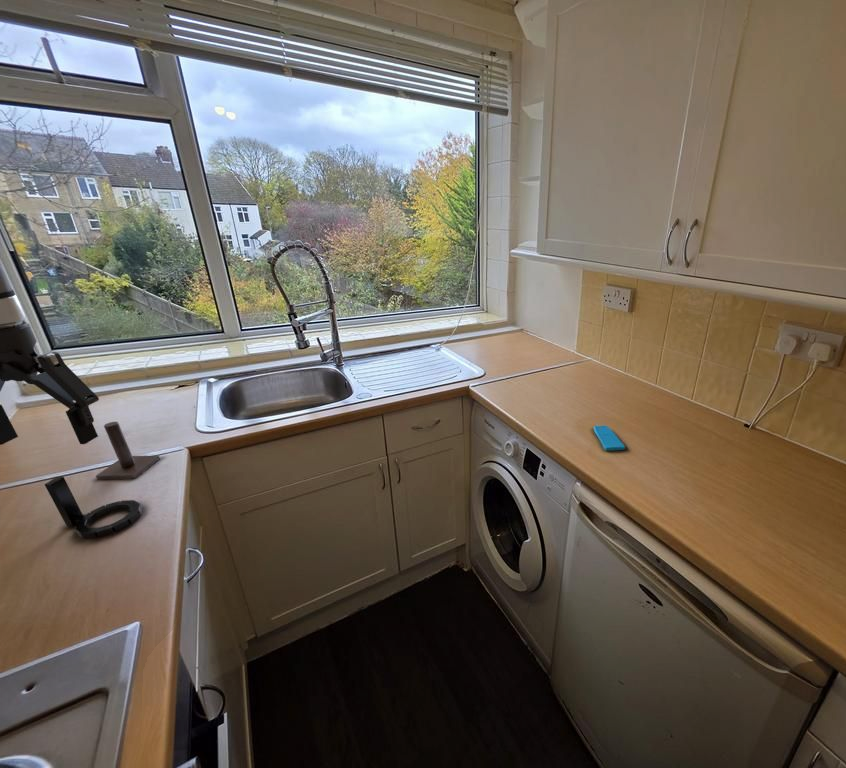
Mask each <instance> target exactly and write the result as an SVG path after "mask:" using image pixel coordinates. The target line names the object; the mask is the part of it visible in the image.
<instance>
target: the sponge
mask: <svg viewBox="0 0 846 768" xmlns="http://www.w3.org/2000/svg"><path fill="white" fill-rule="evenodd" d="M593 431H594V433H595V435H596V436H597V438H598V439H599V441H600V444H601V446H602V447H603V449H604V450H605V451H611V452H612V451H623V450H626V445H625V444H624V443H623V442H622V441H621V440H620V438H619V437H618V436H617V435H616V434H615V432H614V431H613V430H612V429H611V428H610V427H608V426H607V425H595V426H594V427H593Z"/></svg>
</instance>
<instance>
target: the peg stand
mask: <svg viewBox="0 0 846 768" xmlns="http://www.w3.org/2000/svg"><path fill="white" fill-rule="evenodd" d="M103 427H104V430H105V432H106V434H107V437H108V440H109V442H110V444H111V447H112V448H113V451H114V454H115V456H116V458H117V461H115V462H114V463H112V464H111V465H109V466H108V467H106V468H105V469H103V470H101V471H100V472H99V473H97V474H96V475H95V478H96V480H127V479H128V480H129V479H133V480H134V479H136V478H137V477H139V476H140V475H141V474H143V472H145V471H146V470H148V469H149V468H150V467H152V466H153V465H154V464H155V463H156V462H158V461H159V460H160V459H161V457H160V455H132V453H131V449H130V447H129V444H128V442H127V439H126V437H125V435H124V432H123V431H122V428H121V425H120V423H119V421H110V422H108V423H105V424H104V425H103Z"/></svg>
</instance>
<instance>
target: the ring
mask: <svg viewBox="0 0 846 768" xmlns="http://www.w3.org/2000/svg"><path fill="white" fill-rule="evenodd" d="M44 487H45V488H46V490H47V492H48V494H49V496H50V498H51V500H52V501H53V504H54V506H55V507H56V509H57V511H58V513H59V515H60V517H61V518H62V520H63V523H64V524H65V527H67V528H70V527H71V528H72V527H74V530H75V533H76V534H77V535H78V536H79V537H80V538H82V539H85V540H88V539H89V540H91V539H100V538H104V537H107V536H110V535H114V534H115V533H119V532H121V531H123V530H125V529H126V528H128V527H130V526H131V525H133V524H134V523H135V522H136V521H138V519H139V518H141V516H142V513H143V507H142V505H141V503H140V502H138V501H136V500H133V499H128V500H127V499H126V500H125V499H124V500H117V501H114V502H110V503H107V504H105V505H104V504H103V505H101V506H99V507H97V508H95V509H93V510H91V511H90V512H87V513H86V514H83V513H82V510H81V508H80V507H79V504H78V503H77V501H76V497H74V495H73V492H72V490H71V488H70V487H69V484H68V483H67V481H66V478H65V477H64V476H55V477H54V478H52V479H50V480H49V481H48V482H46V483H45V484H44ZM119 511H129V512H128V513H127V514H126V515H125V516H124V517H122V518H120V519H119V520H116V521H115V522H113V523H110V524H107V525H103V526H100V527H90V526H91V525H92V524H93V523H94V522H95V521H97V520H98V519H100V518H102V517H104V516H106V515H109V514H111V513H114V512H119Z"/></svg>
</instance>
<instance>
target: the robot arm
mask: <svg viewBox="0 0 846 768" xmlns="http://www.w3.org/2000/svg"><path fill="white" fill-rule="evenodd" d="M1 260H2V259H0V392H2V389H3V387H4V386H5V383H6V382H10V381H14V382H25V383H26V384H28V385H33V386H36V387H37V388H39V389H40V390H42V391H43V392H44V393H46V394H47V395H49V396H50V397H52V398H53V399H55V400H56V401H57V402H59V403H60V404H62V405H63V406H65V407H66V408H68V410H65V414H66V416H67V419H68V421H69V423H70V425H71V427H72V429H73V432H74V434H75V436H76V438H77V440H78V443H79V445H86V444H88V443H89V442H91V441H93V440H95V439H97V438H98V437H99V435H98V433H97V431H96V428H95V426H94V424H93V423H94V422H95V418H94V416H93V414H92V411H91V409H90V407H89V406H91V405H92V404H94V403H97V402H98V401H99V400H100V398H99V396H98V395H97V394H96V393H94V391H93V390H92V389H91V388H90V387H88V386H87V384H85V382H84V381H82V379H81V378H80V377H79V376H78V375H77V374H76V373H74V371H73V370H72V369H70V367H69V366H68V365H67V364H66V363H65V361H64V360H63V358H62V356H61V355H60V353H59V352H57V351H52V352H49V353H46V354H39V353H38V352H37V351H36V349H35V346H36V344H37V343H38V341H37V337H36V336H35V334H34V332H33V329H32V327H31V325H30V323H28V322H27V321H24V320H26V318H27V316H26V315H25V312H24V310H23V308H22V305H21V302H20V301H19V299H18V297H17V295H16V293H15V290H14V289H13V287H12V284H11V282H10V279H9V278H8V275H7V272H6V270H5V268H4V266H3V263H2V261H1ZM17 438H19V435H18V433H17V431H16V429H15V427H14V426H13V423H12V421H11V420H10V417H9V416H8V414H7V412H6V410H5V409H4V406H3V405H2V404H0V446H2V445H5V444H6V443H8V442H10V441H12V440H14V439H17Z"/></svg>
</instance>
